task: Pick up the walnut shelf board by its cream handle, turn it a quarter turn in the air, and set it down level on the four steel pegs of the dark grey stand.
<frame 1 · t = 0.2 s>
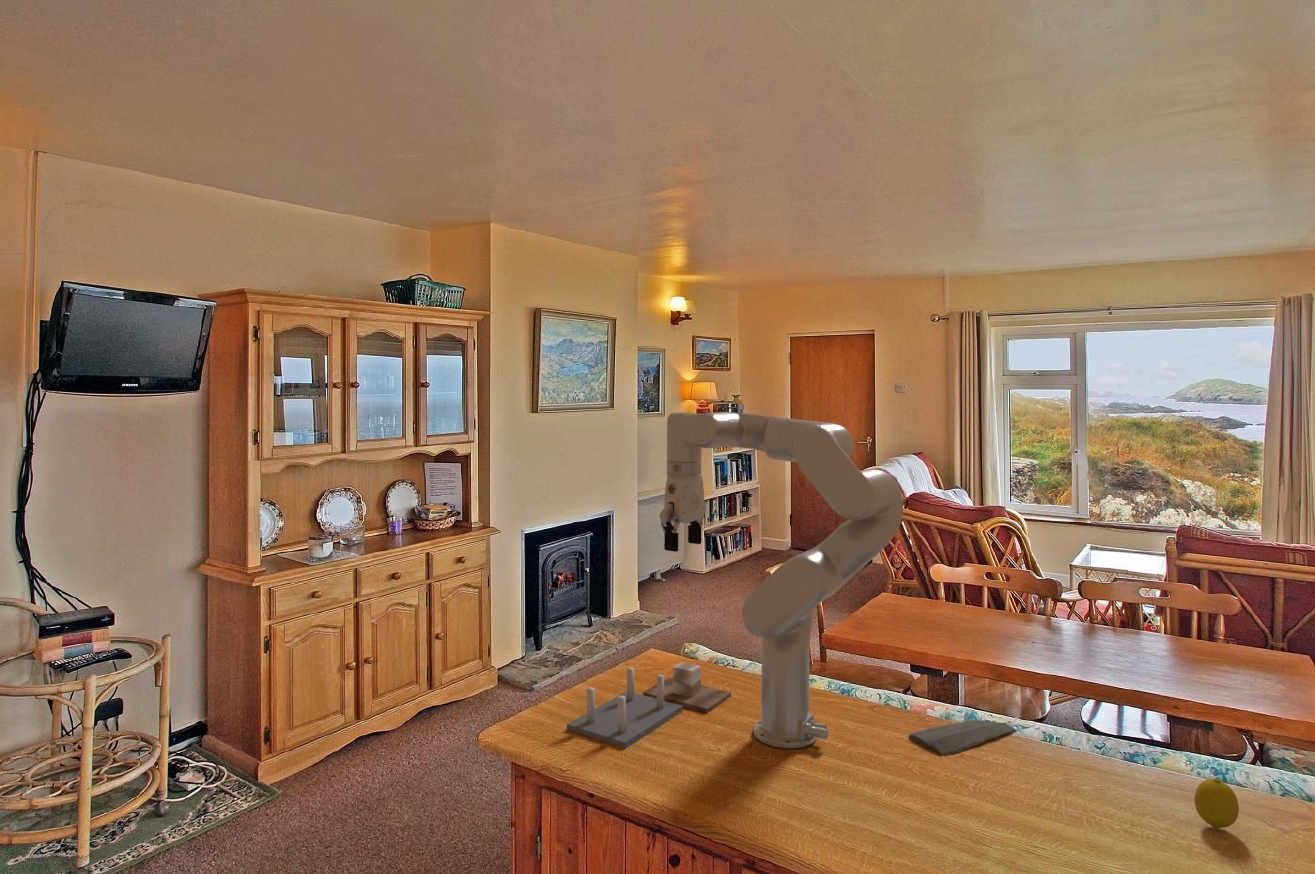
hand: (683, 546, 162), 36 cm above the table, tool pointing down, fingers open, 9 cm apart
stone slab: (963, 738, 149), on the table
shelf board: (687, 698, 169), on the table
lemon: (1215, 829, 116), on the table
peg stand: (626, 720, 157), on the table
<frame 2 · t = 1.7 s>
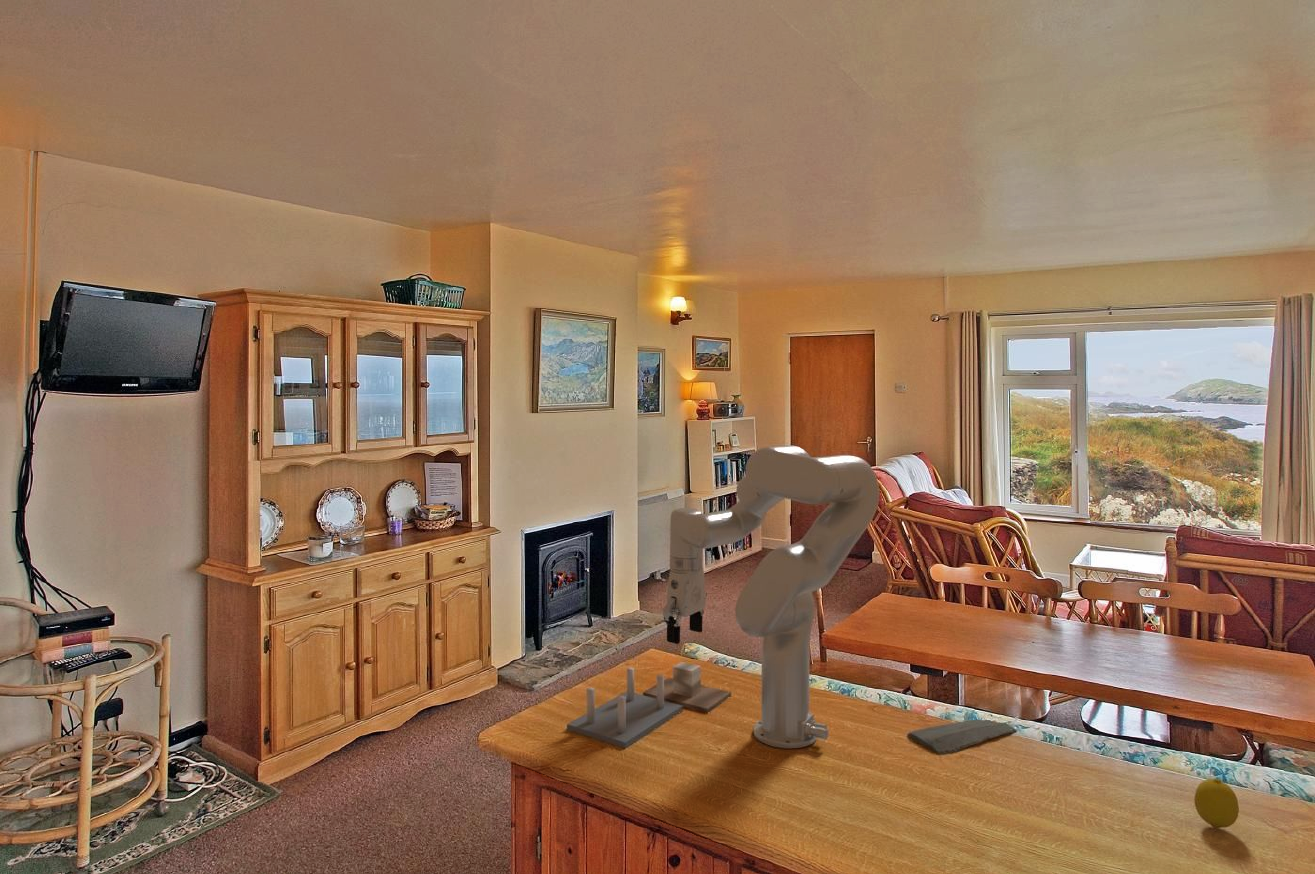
hand: (684, 636, 169), 14 cm above the table, tool pointing down, fingers open, 9 cm apart
nothing on the table moved.
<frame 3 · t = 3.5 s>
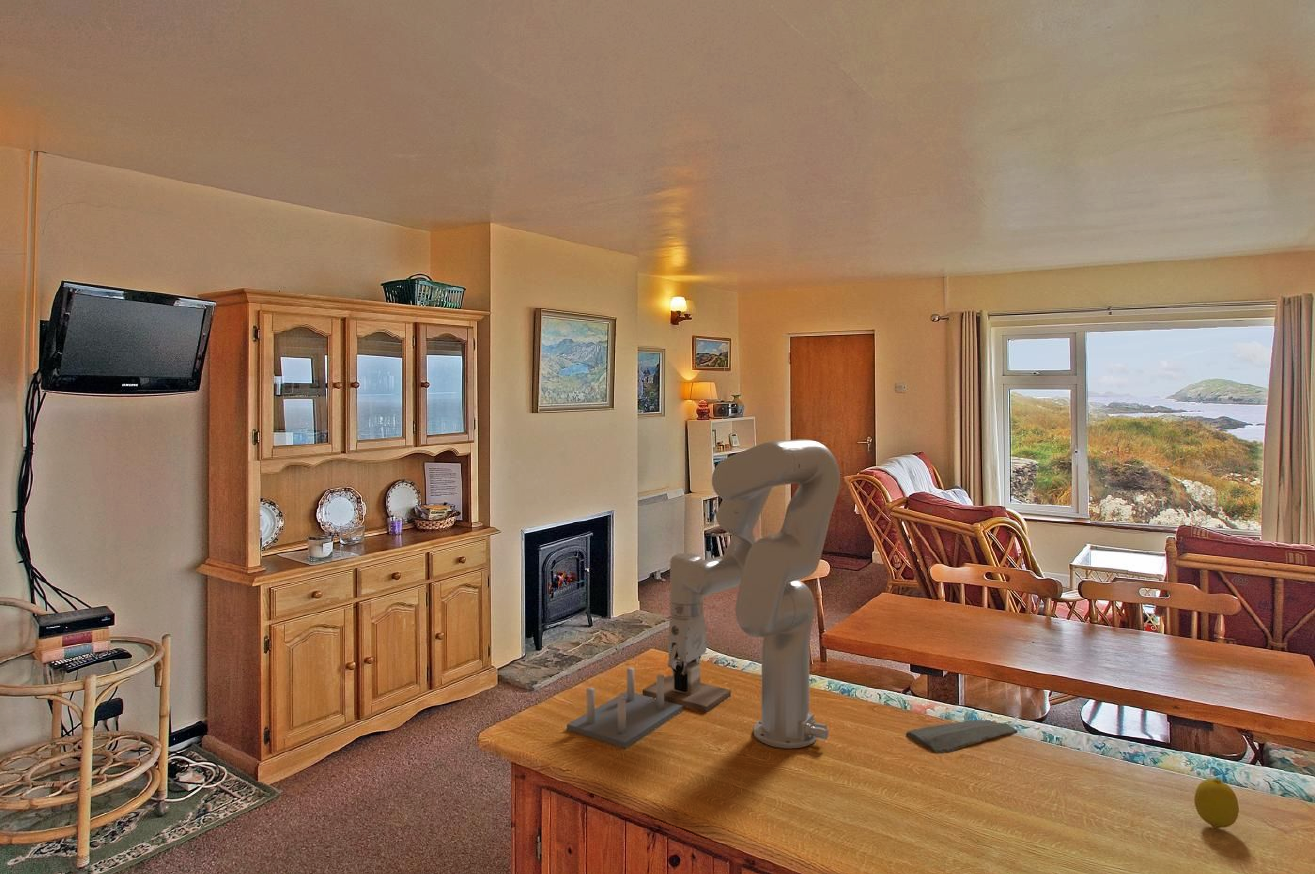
hand: (686, 686, 169), 2 cm above the table, tool pointing down, fingers closed on shelf board, 4 cm apart
shelf board: (686, 696, 170), on the table, touching gripper
everything else where it was.
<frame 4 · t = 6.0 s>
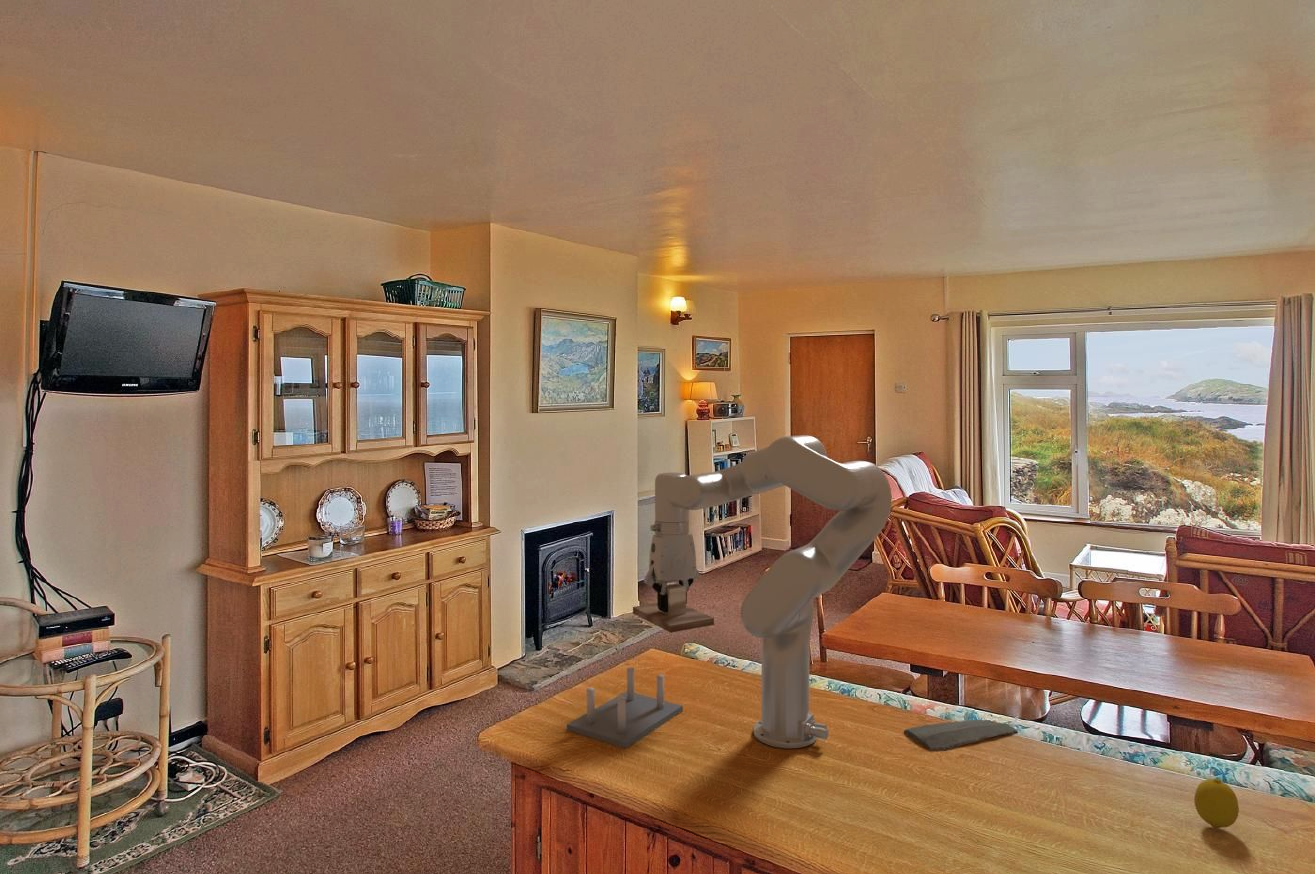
hand: (672, 608, 165), 21 cm above the table, tool pointing down, fingers closed on shelf board, 4 cm apart
shelf board: (672, 618, 165), point 19 cm above the table, touching gripper
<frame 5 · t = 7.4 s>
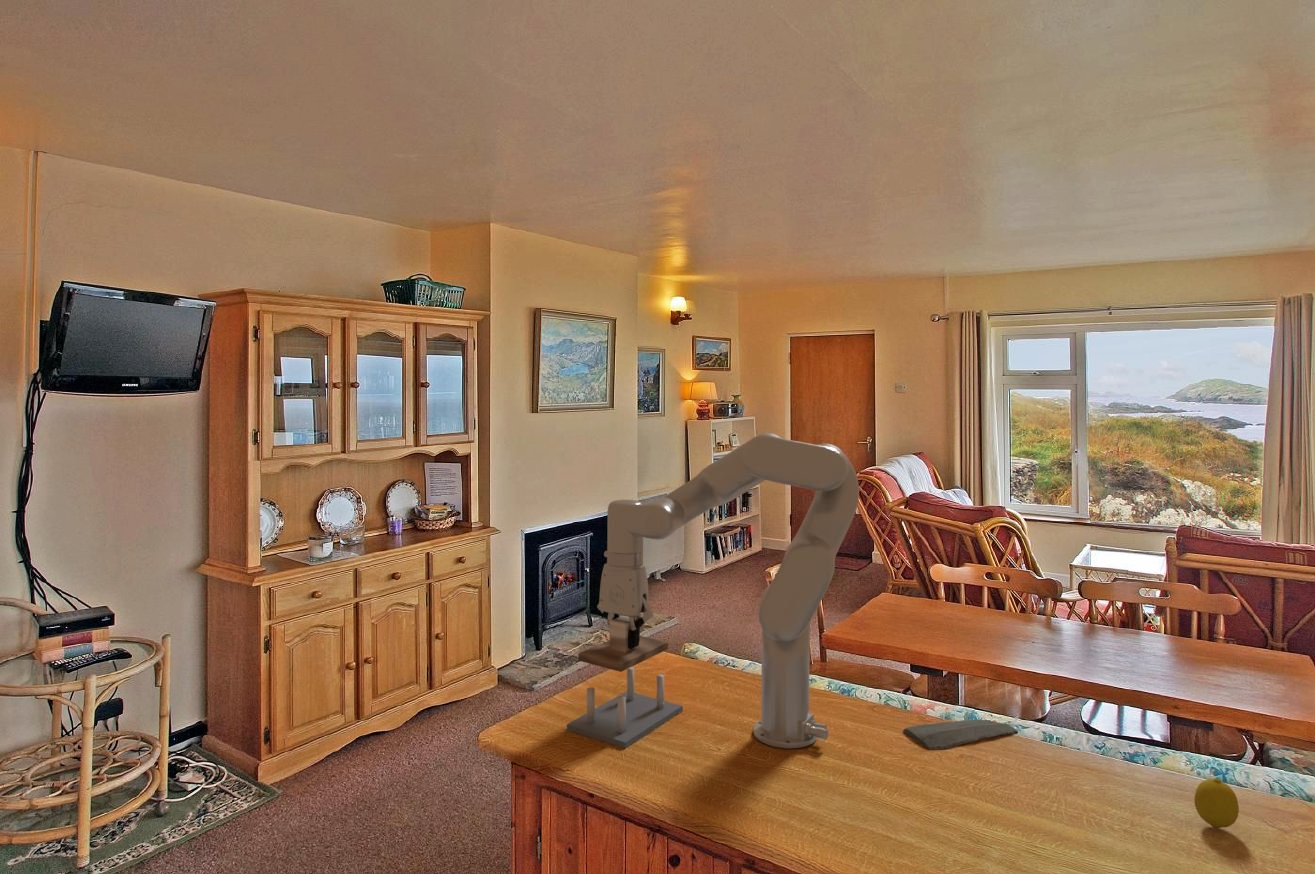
hand: (624, 643, 156), 16 cm above the table, tool pointing down, fingers closed on shelf board, 4 cm apart
shelf board: (624, 654, 156), point 14 cm above the table, touching gripper
when the fingers open (11 cm above the table, at t = 8.5 s): shelf board stays where it is, resting on peg stand.
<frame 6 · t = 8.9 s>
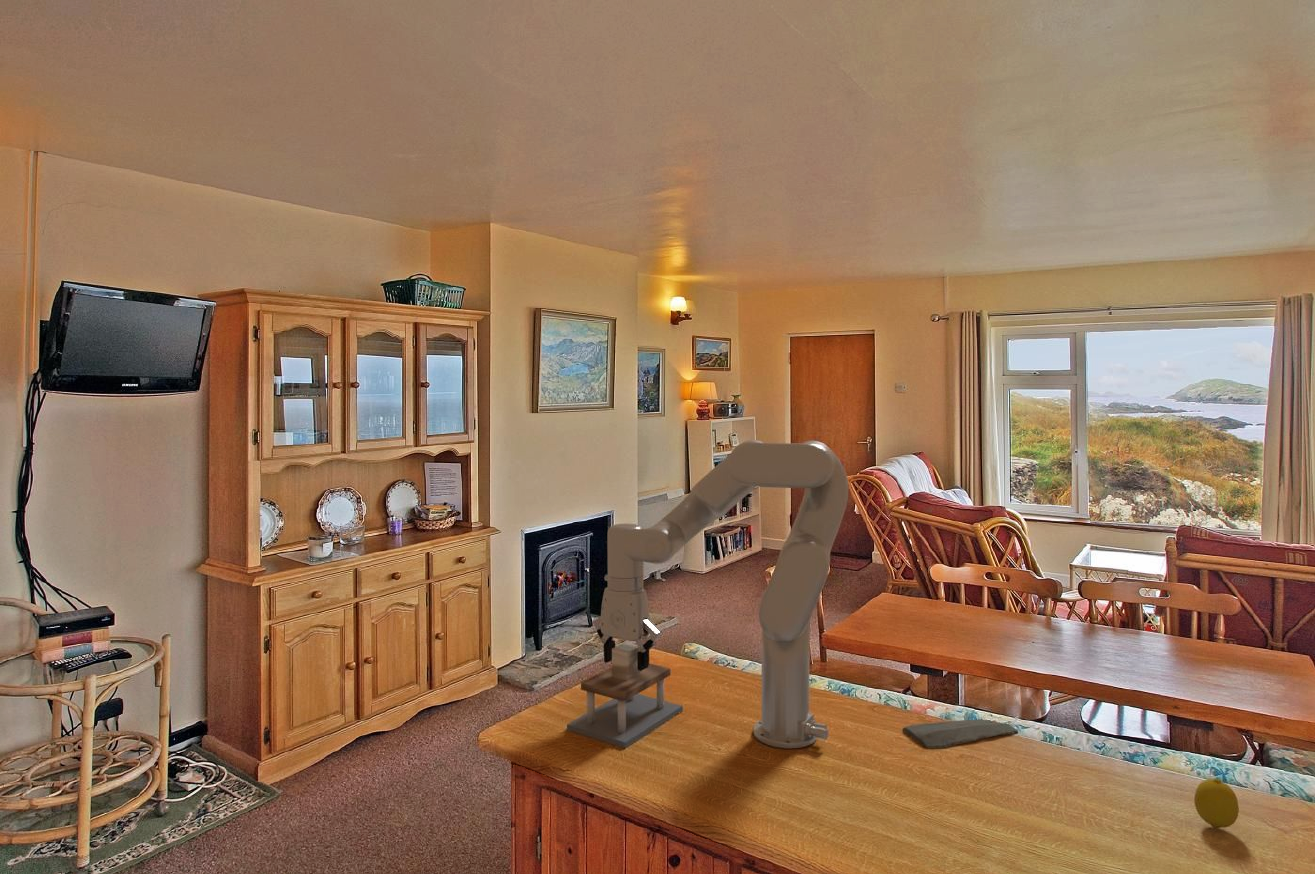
hand: (626, 664, 156), 12 cm above the table, tool pointing down, fingers open, 8 cm apart
shelf board: (626, 682, 156), point 8 cm above the table, touching peg stand
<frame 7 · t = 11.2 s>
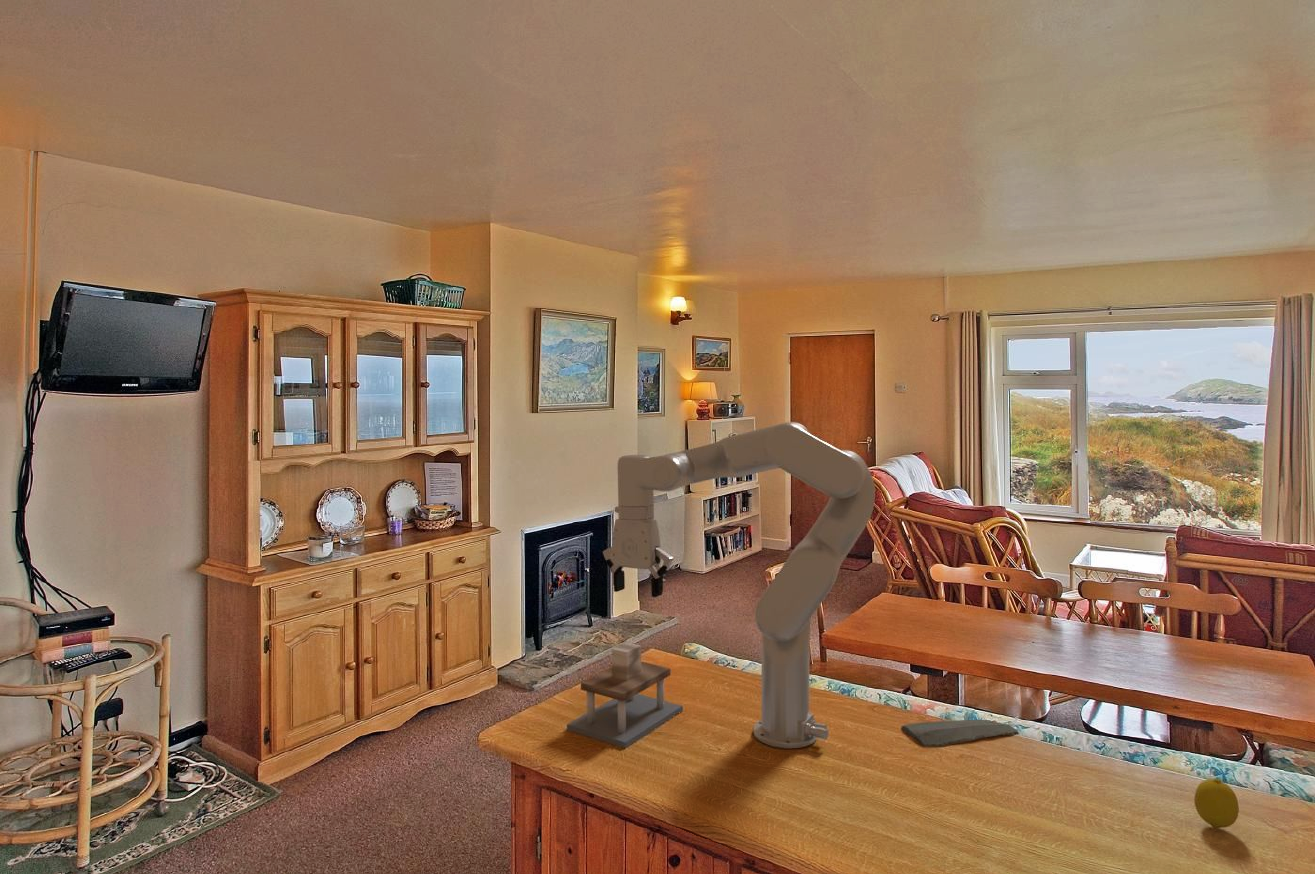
hand: (637, 592, 157), 27 cm above the table, tool pointing down, fingers open, 9 cm apart
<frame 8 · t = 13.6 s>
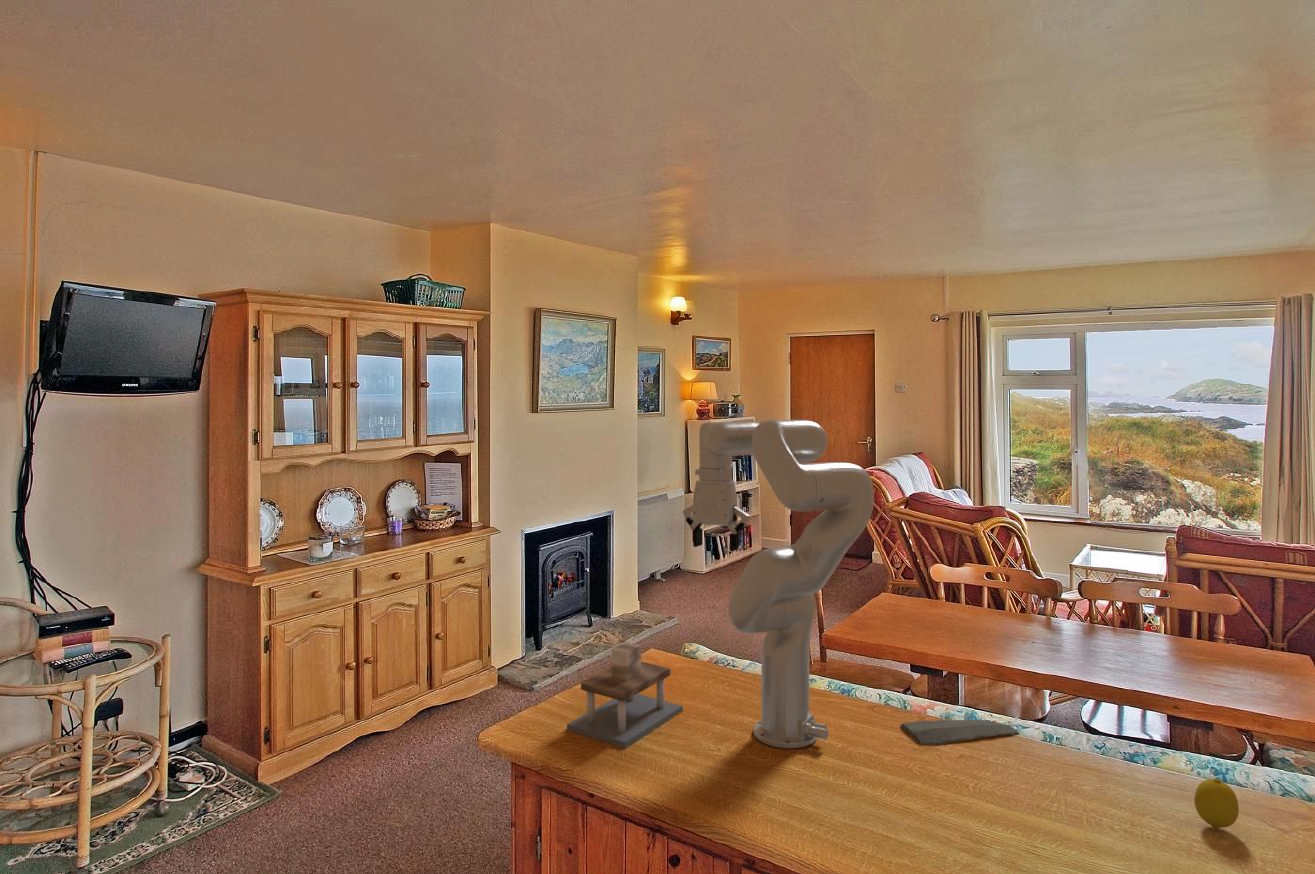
hand: (715, 548, 173), 33 cm above the table, tool pointing down, fingers open, 9 cm apart
at the end: shelf board 0.1 cm off-centre on the peg stand, point 8.2 cm above the peg stand's base; shelf board tilted 0°; the gripper is holding nothing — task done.
